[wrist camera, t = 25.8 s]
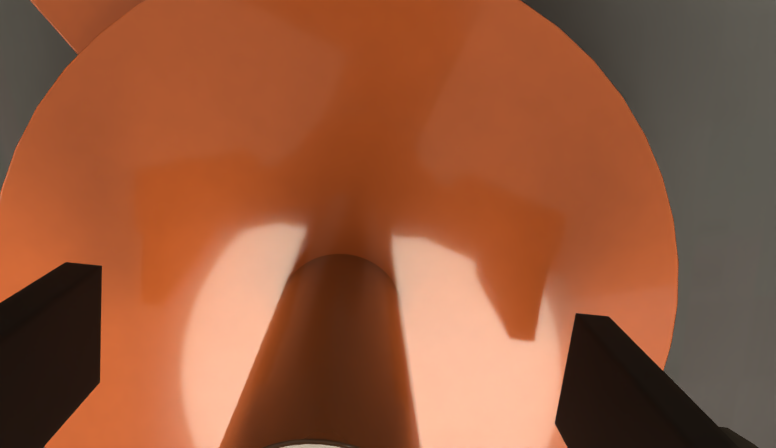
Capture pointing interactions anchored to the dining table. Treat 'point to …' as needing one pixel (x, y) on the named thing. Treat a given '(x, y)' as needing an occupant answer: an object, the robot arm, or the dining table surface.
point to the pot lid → (339, 222)
